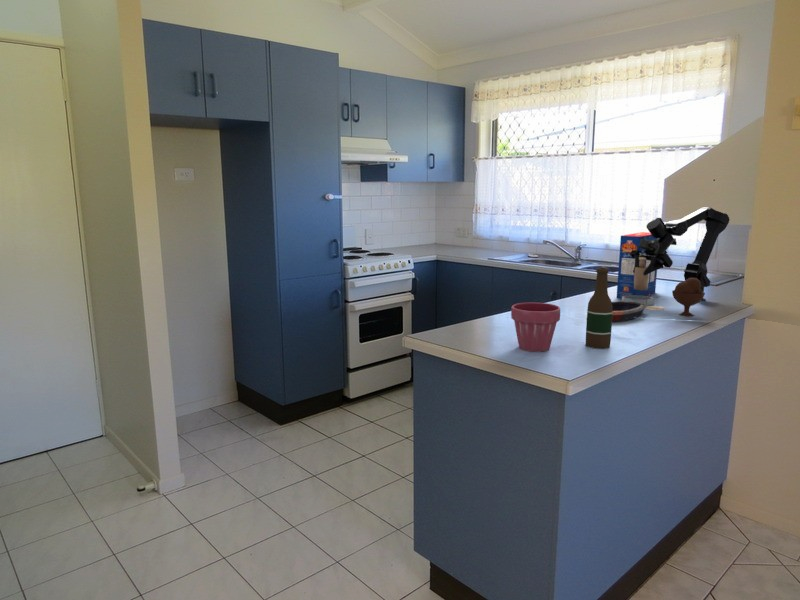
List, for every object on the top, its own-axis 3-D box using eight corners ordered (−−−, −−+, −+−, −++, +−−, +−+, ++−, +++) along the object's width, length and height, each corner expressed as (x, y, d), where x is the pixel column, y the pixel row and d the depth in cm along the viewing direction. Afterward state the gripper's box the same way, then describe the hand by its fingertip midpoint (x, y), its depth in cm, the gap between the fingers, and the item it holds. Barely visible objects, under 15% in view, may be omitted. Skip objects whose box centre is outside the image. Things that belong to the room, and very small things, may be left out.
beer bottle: (580, 342, 181) (584, 266, 177) (604, 342, 182) (609, 266, 177) (590, 349, 173) (595, 270, 169) (615, 348, 174) (621, 269, 170)
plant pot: (505, 351, 172) (506, 308, 169) (515, 340, 184) (517, 300, 182) (554, 356, 166) (556, 312, 164) (561, 344, 179) (563, 304, 176)
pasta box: (637, 290, 277) (642, 232, 272) (655, 292, 272) (660, 233, 267) (616, 298, 256) (620, 235, 251) (634, 300, 251) (639, 236, 246)
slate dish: (620, 300, 251) (620, 294, 251) (650, 302, 248) (650, 295, 248) (624, 306, 240) (624, 299, 239) (655, 307, 237) (655, 300, 236)
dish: (656, 315, 223) (657, 302, 222) (612, 326, 204) (613, 313, 203) (619, 309, 234) (620, 297, 234) (574, 319, 215) (575, 306, 214)
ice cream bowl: (694, 313, 225) (698, 275, 222) (706, 319, 214) (710, 279, 211) (666, 313, 226) (669, 275, 223) (677, 319, 215) (680, 279, 212)
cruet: (634, 287, 245) (636, 256, 243) (648, 288, 243) (650, 257, 240) (632, 289, 241) (634, 257, 238) (646, 290, 238) (648, 258, 236)
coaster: (643, 307, 237) (643, 305, 237) (662, 307, 236) (662, 306, 236) (646, 310, 231) (647, 309, 231) (665, 311, 229) (665, 310, 229)
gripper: (634, 231, 247) (612, 258, 245) (669, 234, 230) (646, 263, 228) (647, 248, 252) (626, 275, 250) (682, 252, 235) (660, 281, 233)
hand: (638, 273), depth 240 cm, fingers closed on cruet, 5 cm apart
